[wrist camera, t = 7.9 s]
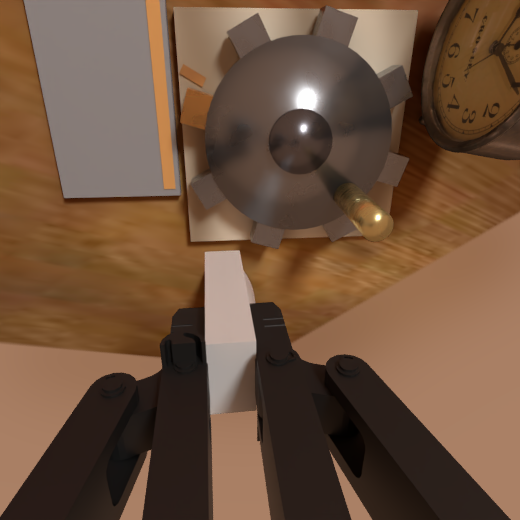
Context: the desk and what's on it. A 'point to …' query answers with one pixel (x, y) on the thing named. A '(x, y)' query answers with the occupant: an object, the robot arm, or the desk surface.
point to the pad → (108, 95)
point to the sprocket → (300, 132)
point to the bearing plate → (224, 57)
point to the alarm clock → (474, 79)
